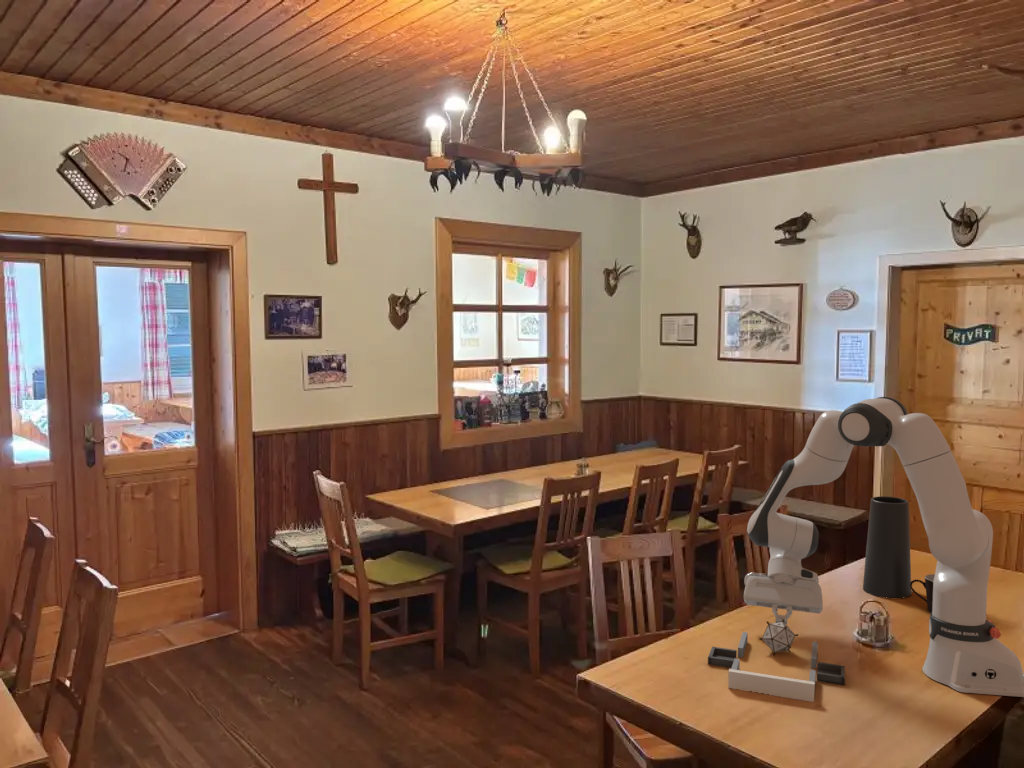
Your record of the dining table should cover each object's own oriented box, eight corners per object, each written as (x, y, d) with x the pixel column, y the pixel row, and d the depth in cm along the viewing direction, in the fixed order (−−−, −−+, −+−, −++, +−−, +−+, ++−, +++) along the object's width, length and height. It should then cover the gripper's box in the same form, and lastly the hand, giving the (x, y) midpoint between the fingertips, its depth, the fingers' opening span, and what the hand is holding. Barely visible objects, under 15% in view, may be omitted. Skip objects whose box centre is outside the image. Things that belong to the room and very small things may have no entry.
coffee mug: (963, 614, 229) (964, 580, 228) (947, 620, 224) (948, 585, 224) (923, 602, 239) (924, 569, 238) (907, 608, 234) (908, 575, 233)
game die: (785, 669, 202) (801, 647, 196) (752, 654, 203) (768, 633, 197) (788, 640, 209) (804, 619, 203) (756, 627, 210) (772, 605, 204)
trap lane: (844, 655, 201) (844, 639, 201) (844, 707, 174) (845, 689, 174) (718, 637, 213) (718, 623, 213) (700, 683, 186) (700, 666, 185)
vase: (859, 593, 247) (861, 501, 245) (867, 581, 258) (869, 493, 256) (907, 601, 240) (911, 506, 237) (914, 589, 251) (917, 498, 249)
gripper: (744, 566, 221) (739, 612, 213) (823, 574, 214) (822, 622, 205) (745, 577, 226) (741, 622, 218) (823, 585, 218) (822, 633, 210)
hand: (781, 622), depth 211 cm, fingers closed
